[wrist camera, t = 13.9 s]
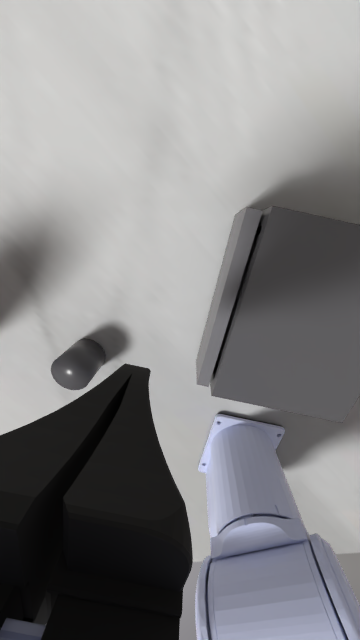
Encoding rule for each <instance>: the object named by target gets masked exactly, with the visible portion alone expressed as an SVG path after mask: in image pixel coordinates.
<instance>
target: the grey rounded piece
mask: <svg viewBox="0 0 360 640" xmlns="http://www.w3.org/2000/svg"><path fill="white" fill-rule="evenodd" d="M104 361H105V352H104V350H103V348H102V347H101V346H100V345H99V344H98V343H96V342H95V341H92V340H89V339H82V340H79V341H77V342H76V343H75V344H74V345H72V346H71V347H70V348H69V349H68V350H67V351H65V352H64V353H63V354H62V355H61V356H60V357H58V358H57V359H56V360H55V361H54V362H53V364H52V366H51V373H52V376H53V378H54V379H55V381H56V382H57V383H58V384H59V385H61V386H62V387H64V388H67V389H70V390H80V389H83V388H84V387H86V386H87V385H88V383H89V382H90V381H91V379H92V378H93V377H94V375H95V374H96V373H97V371H98V370H99V369H100V367H101V366H102V365H103V363H104Z"/></svg>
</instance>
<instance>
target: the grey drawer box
mask: <svg viewBox="0 0 360 640" xmlns="http://www.w3.org/2000/svg"><path fill="white" fill-rule="evenodd" d="M255 235H259V238H258V241H257V244H256V248H255V251H254V254H253V257H252V260H251V263H250V267H249V270H248V273H247V276H246V279H245V283H244V286H243V289H242V292H241V295H240V298H239V302H238V305H237V308H236V311H235V314H234V317H233V321H232V324H231V327H230V330H229V333H228V337H227V340H226V343H225V346H224V349H223V352H222V356H221V359H220V362H219V365H218V363H217V360H216V364H215V367H214V370H213V373H212V377H211V380H210V386H211V395H212V396H215V397H220V398H225V399H229V400H234V401H239V402H244V403H249V404H253V405H258V406H263V407H268V408H273V409H277V410H282V411H287V412H292V413H297V414H301V415H306V416H311V417H316V418H321V419H325V420H330V421H335V422H340V423H343V421H344V419H345V418H346V416H347V415H348V413H349V412H350V410H351V408H352V407H353V405H354V404H355V402H356V401H357V399H358V397H359V396H360V225H357V224H353V223H348V222H344V221H339V220H334V219H330V218H325V217H321V216H316V215H312V214H307V213H303V212H298V211H294V210H289V209H285V208H280V207H276V206H271V207H269V208H267V209H265V210H262V214H261V217H260V221H259V224H258V227H257V230H256V234H255Z"/></svg>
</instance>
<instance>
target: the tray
mask: <svg viewBox="0 0 360 640" xmlns="http://www.w3.org/2000/svg"><path fill="white" fill-rule="evenodd" d="M261 214H262V210H258V209H253V208H249V207H246V208H245V209H243V210H242V211H240V212H239V213H237V214H236V215H235V217H234V221H233V225H232V229H231V232H230V236H229V240H228V244H227V247H226V251H225V255H224V258H223V262H222V266H221V270H220V273H219V277H218V281H217V285H216V288H215V292H214V296H213V300H212V303H211V307H210V311H209V315H208V318H207V322H206V326H205V330H204V333H203V337H202V341H201V345H200V348H199V352H198V356H197V359H196V368H197V385H202V386H207V387H208V386H209V383H210V380H211V377H212V373H213V370H214V367H215V364H216V360H217V363H218V365H219V362H220V359H221V356H222V352H223V349H224V346H225V343H226V340H227V337H228V333H229V330H230V327H231V324H232V321H233V317H234V314H235V311H236V308H237V305H238V302H239V298H240V295H241V292H242V289H243V286H244V283H245V279H246V276H247V273H248V270H249V267H250V263H251V260H252V257H253V254H254V251H255V248H256V244H257V241H258V238H259V235H255V234H256V230H257V227H258V224H259V221H260V217H261Z"/></svg>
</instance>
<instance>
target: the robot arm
mask: <svg viewBox="0 0 360 640" xmlns="http://www.w3.org/2000/svg"><path fill="white" fill-rule="evenodd" d="M149 377H150V370H149V369H148V368H143V367H139V366H134V365H129V364H124V365H122V366H121V367H120V368H119V369H118V370H116V371H115V372H114V373H113V374H112V375H110V376H109V377H108V378H106V379H105V380H104V381H102V382H101V383H100V384H98V385H97V386H96V387H94V388H93V389H91V390H90V391H88V392H87V393H85V394H84V395H82V396H81V397H79V398H78V399H76V400H74V401H73V402H71V403H69V404H68V405H66V406H64V407H62V408H60V409H59V410H57V411H55V412H53V413H51V414H49V415H47V416H44V417H42V418H40V419H38V420H36V421H34V422H32V423H30V424H27V425H25V426H23V427H20V428H18V429H16V430H13V431H11V432H8V433H5V434H3V435H0V640H179V621H180V617H181V614H182V596H183V587H184V585H185V582H186V580H187V578H188V576H189V573H190V571H191V567H192V559H193V557H192V543H191V534H190V528H189V522H188V517H187V512H186V507H185V502H184V500H183V498H182V496H181V494H180V492H179V490H178V488H177V486H176V484H175V482H174V480H173V477H172V475H171V473H170V470H169V468H168V466H167V463H166V460H165V458H164V455H163V452H162V449H161V447H160V444H159V441H158V437H157V434H156V430H155V427H154V423H153V418H152V413H151V407H150V400H149V387H148V385H149ZM218 421H220V422H218ZM284 433H285V430H284V428H283V427H281V426H276V425H271V424H266V423H262V422H257V421H252V420H247V419H242V418H238V417H233V416H228V415H223V414H217V415H216V416H215V419H214V422H213V425H212V428H211V431H210V434H209V436H208V439H207V442H206V445H205V448H204V451H203V454H202V457H201V460H200V463H199V466H198V470H199V471H200V472H203V473H206V488H207V507H208V526H209V532H210V536H211V538H210V545H211V555H210V556H207V557H206V558H205V559H204V560H203V563H202V565H201V569H200V573H199V576H198V581H197V587H196V597H195V618H196V632H197V640H360V605H359V603H358V601H357V598H356V596H355V594H354V592H353V590H352V588H351V586H350V583H349V581H348V579H347V577H346V575H345V573H344V571H343V569H342V567H341V565H340V563H339V561H338V559H337V557H336V555H335V553H334V551H333V549H332V547H331V545H330V544H329V543H328V542H327V541H325V540H324V539H321V537H320V536H319V535H318V534H317V533H315V534H313V535H309V534H308V532H307V530H306V528H305V525H304V523H303V520H302V518H301V515H300V513H299V510H298V507H297V505H296V502H295V500H294V497H293V495H292V492H291V490H290V487H289V484H288V482H287V479H286V477H285V474H284V472H283V469H282V466H281V464H280V461H279V459H278V456H277V454H276V449H277V447H278V445H279V443H280V441H281V439H282V437H283V435H284Z"/></svg>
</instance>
